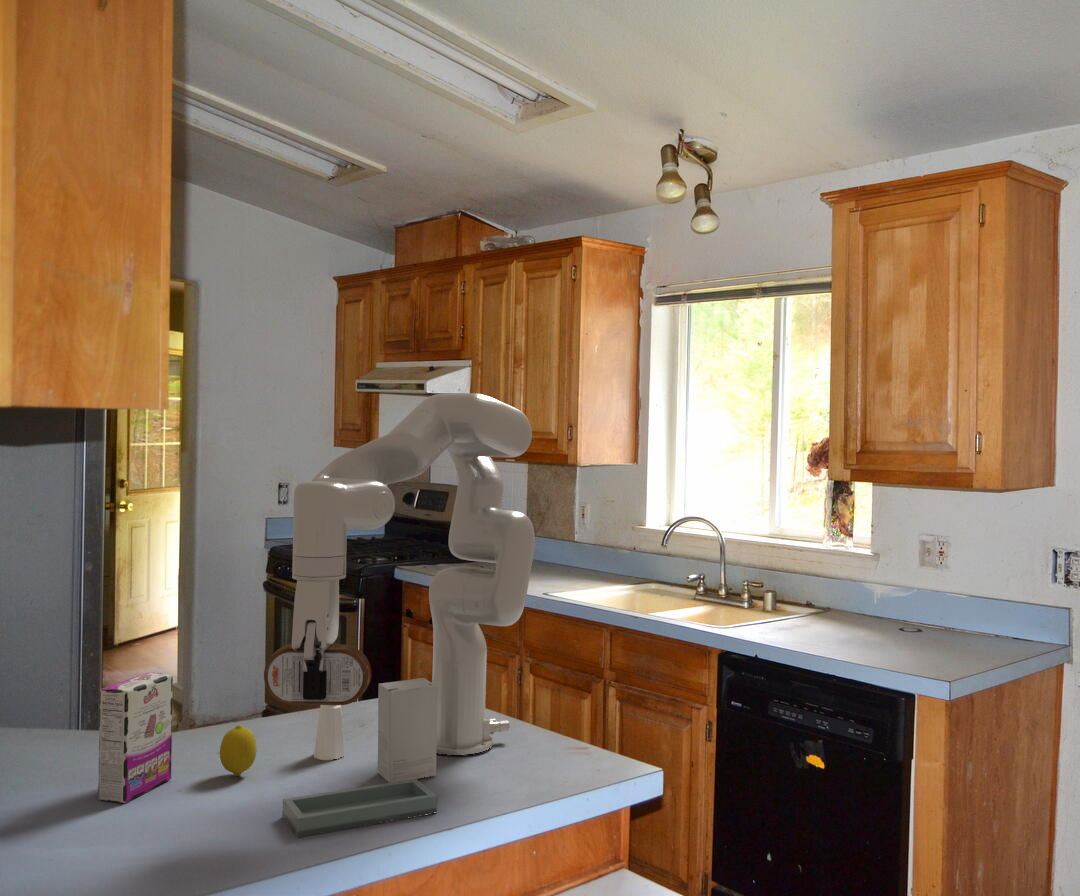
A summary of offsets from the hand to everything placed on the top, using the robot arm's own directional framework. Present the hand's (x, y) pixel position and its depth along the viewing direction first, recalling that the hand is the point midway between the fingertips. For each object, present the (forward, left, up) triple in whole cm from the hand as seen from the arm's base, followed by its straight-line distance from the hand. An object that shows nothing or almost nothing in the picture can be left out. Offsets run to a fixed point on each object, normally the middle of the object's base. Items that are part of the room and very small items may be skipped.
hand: (317, 694), depth 135 cm
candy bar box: (+22, -20, -17) cm, 34 cm away
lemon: (+7, -20, -17) cm, 27 cm away
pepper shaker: (-9, -24, -17) cm, 31 cm away
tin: (0, 0, -1) cm, 1 cm away
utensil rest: (-5, +4, -17) cm, 18 cm away
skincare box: (-17, -9, -17) cm, 26 cm away
